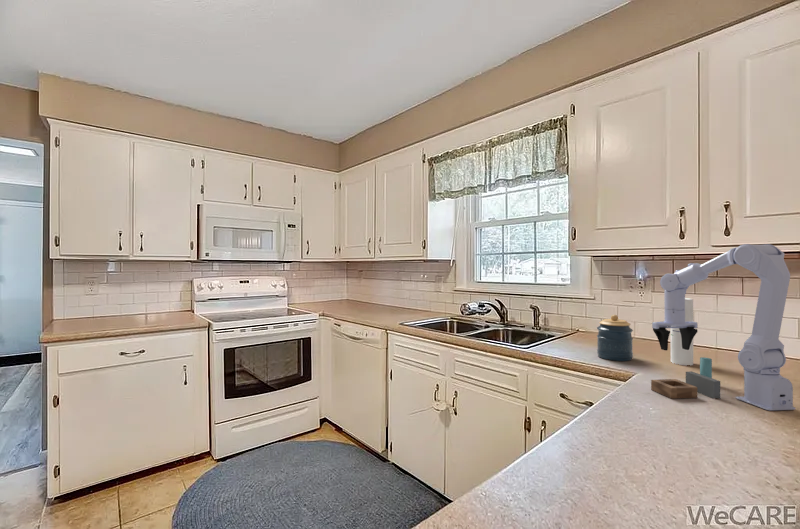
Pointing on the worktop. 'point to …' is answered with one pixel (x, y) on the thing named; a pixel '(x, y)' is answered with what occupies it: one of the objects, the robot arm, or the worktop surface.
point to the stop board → (704, 384)
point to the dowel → (706, 367)
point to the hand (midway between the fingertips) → (674, 349)
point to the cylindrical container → (677, 352)
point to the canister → (614, 339)
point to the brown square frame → (674, 388)
